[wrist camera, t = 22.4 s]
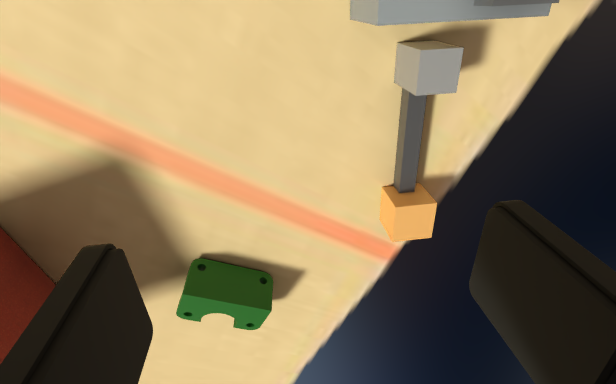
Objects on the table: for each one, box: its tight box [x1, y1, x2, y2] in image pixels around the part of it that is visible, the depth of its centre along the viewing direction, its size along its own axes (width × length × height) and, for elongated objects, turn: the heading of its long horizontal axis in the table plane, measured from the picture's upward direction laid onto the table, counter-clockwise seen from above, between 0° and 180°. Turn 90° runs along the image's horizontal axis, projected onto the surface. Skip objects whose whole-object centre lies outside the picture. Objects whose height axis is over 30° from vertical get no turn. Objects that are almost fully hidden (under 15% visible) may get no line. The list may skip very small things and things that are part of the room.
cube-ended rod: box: [380, 41, 464, 242], centre depth 39 cm, size 22×5×6 cm, turn 3°
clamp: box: [176, 258, 273, 330], centre depth 46 cm, size 12×6×9 cm, turn 61°
